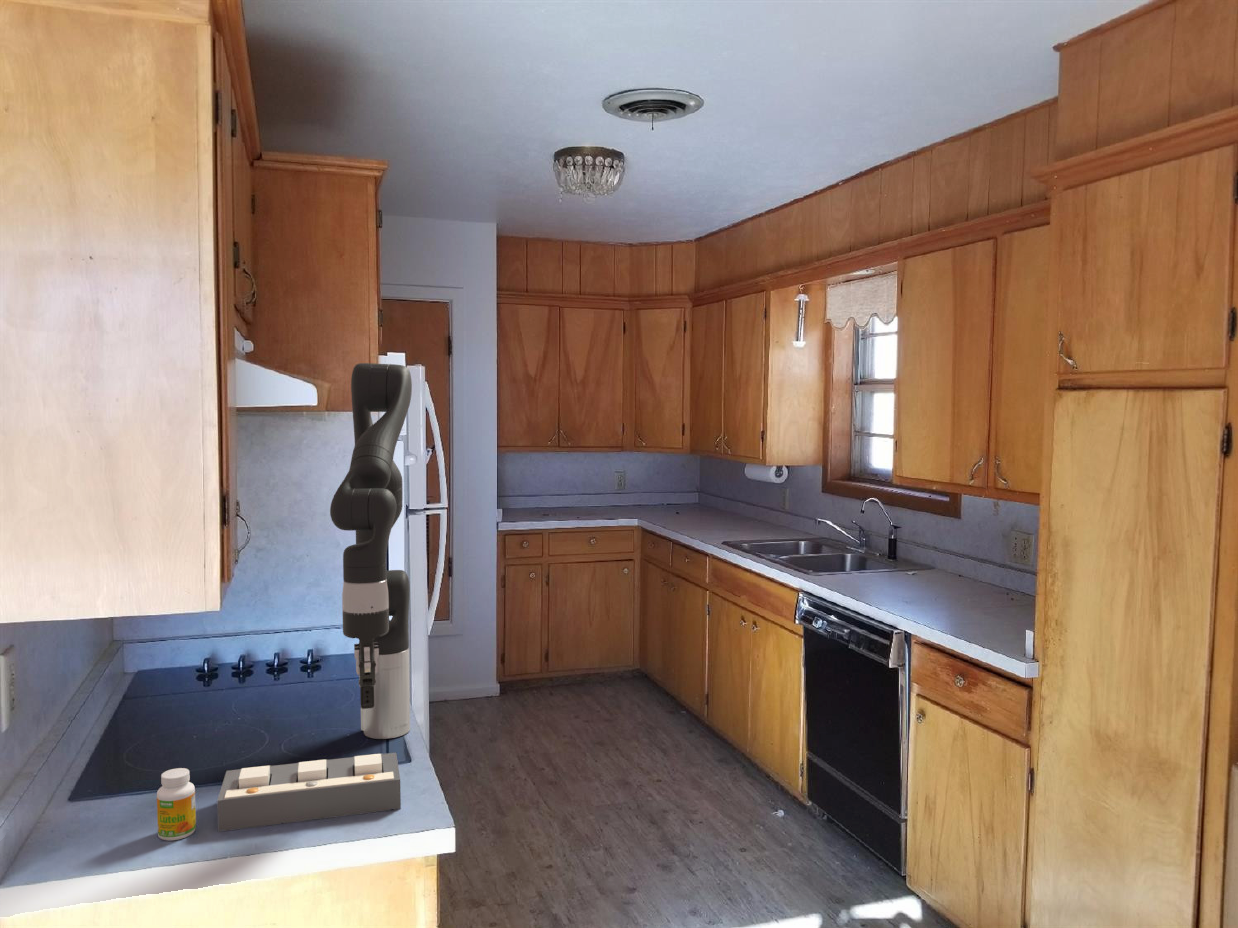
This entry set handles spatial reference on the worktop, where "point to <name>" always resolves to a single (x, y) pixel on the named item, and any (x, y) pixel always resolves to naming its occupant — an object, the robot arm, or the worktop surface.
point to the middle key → (312, 770)
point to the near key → (254, 777)
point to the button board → (308, 795)
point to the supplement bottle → (176, 805)
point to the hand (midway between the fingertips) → (367, 706)
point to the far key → (368, 764)
